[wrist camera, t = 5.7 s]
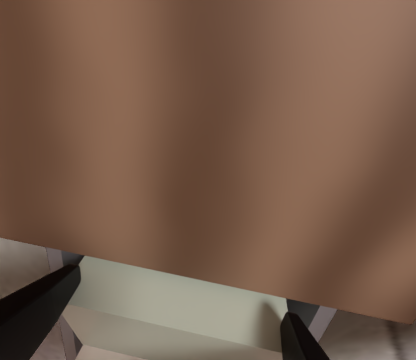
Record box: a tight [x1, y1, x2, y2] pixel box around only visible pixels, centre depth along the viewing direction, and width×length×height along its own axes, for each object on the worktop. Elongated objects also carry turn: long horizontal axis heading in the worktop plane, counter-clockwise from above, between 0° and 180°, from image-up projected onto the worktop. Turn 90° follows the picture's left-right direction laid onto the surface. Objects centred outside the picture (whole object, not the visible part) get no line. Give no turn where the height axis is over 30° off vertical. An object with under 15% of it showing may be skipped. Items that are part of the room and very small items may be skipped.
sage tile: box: [62, 256, 288, 360], centre depth 11 cm, size 10×6×2 cm, turn 80°
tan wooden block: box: [0, 0, 416, 325], centre depth 8 cm, size 20×14×4 cm
